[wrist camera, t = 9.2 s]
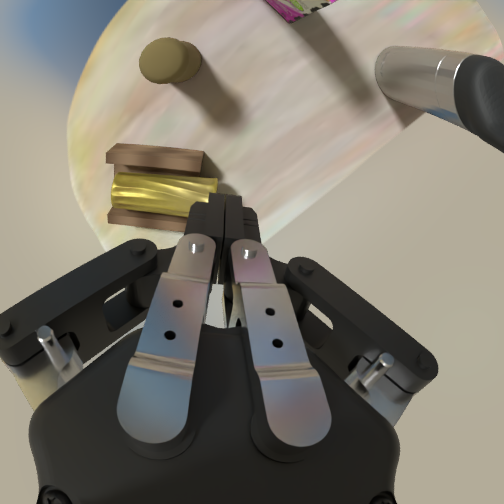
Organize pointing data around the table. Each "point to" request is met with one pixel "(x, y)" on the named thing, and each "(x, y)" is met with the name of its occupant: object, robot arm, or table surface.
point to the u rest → (152, 163)
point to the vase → (160, 192)
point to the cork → (169, 61)
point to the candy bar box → (298, 7)
